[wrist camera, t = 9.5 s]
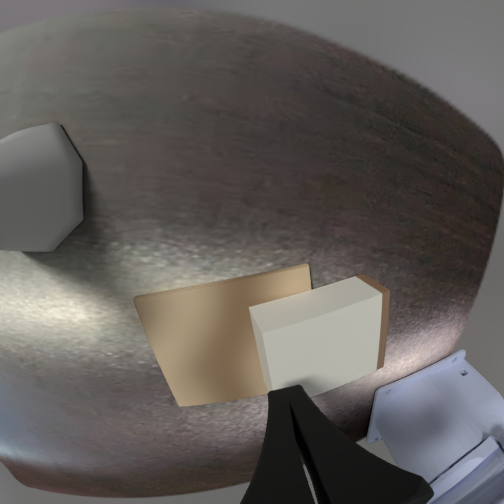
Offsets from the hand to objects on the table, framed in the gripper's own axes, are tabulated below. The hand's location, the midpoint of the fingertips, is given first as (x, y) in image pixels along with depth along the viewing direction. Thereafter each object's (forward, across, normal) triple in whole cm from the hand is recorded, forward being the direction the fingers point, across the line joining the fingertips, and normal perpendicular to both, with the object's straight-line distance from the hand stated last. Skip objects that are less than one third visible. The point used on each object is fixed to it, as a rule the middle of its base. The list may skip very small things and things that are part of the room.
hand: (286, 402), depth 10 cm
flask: (+5, +11, -11) cm, 16 cm away
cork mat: (+5, +2, 0) cm, 5 cm away
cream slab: (+3, +1, 0) cm, 3 cm away
